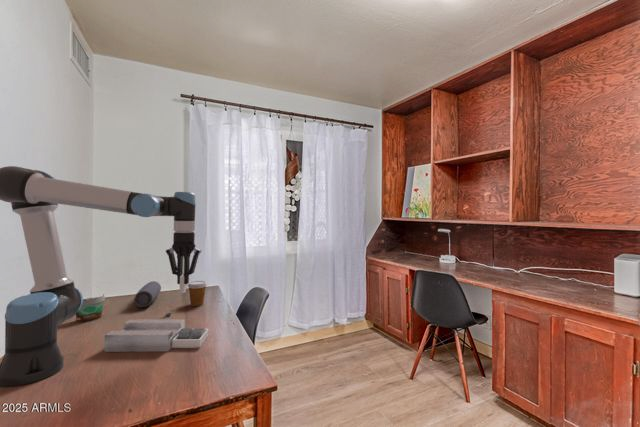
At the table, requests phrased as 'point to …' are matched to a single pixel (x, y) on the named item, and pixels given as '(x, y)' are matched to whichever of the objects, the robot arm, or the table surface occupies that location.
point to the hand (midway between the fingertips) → (182, 292)
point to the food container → (90, 309)
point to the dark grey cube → (197, 333)
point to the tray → (190, 341)
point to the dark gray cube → (185, 333)
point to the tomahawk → (165, 316)
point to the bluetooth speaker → (147, 294)
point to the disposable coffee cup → (197, 292)
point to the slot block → (144, 335)
